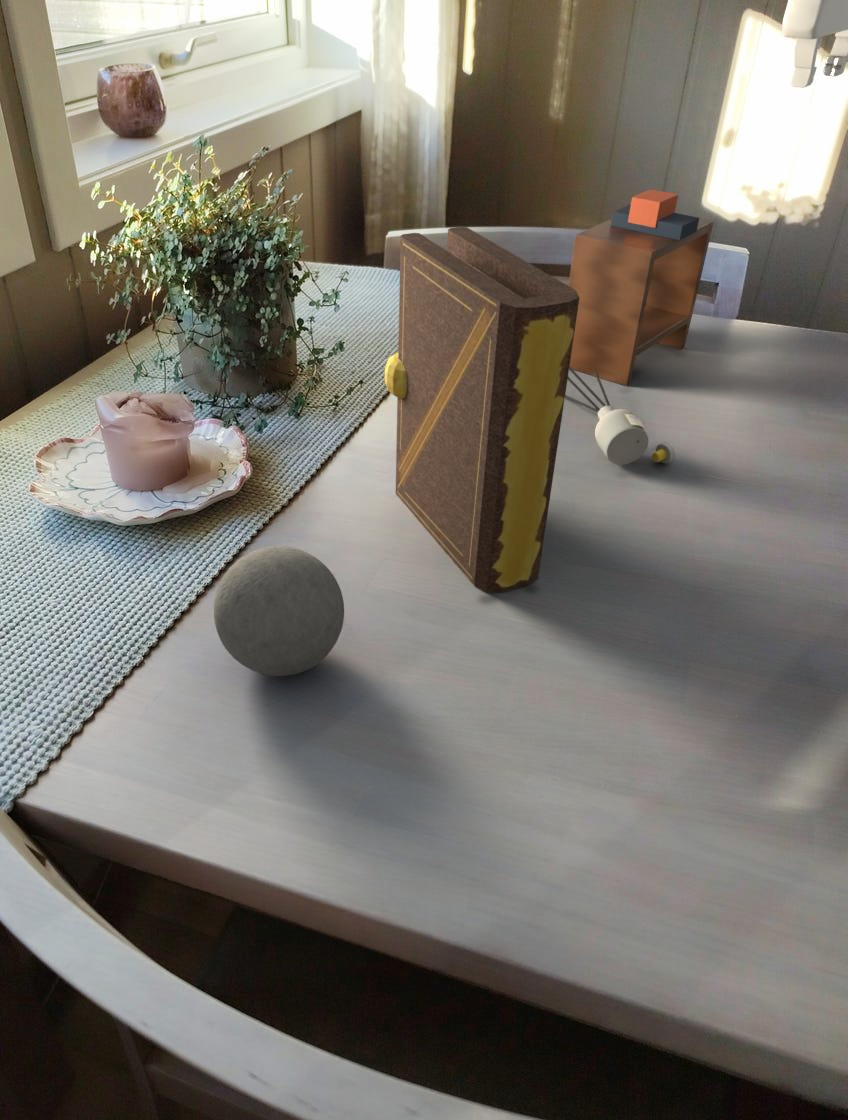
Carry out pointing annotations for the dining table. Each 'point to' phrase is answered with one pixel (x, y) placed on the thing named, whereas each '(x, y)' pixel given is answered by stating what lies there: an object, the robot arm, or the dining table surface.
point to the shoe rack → (632, 295)
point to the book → (480, 400)
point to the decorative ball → (278, 611)
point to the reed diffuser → (621, 431)
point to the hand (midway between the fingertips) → (816, 80)
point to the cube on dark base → (655, 216)
